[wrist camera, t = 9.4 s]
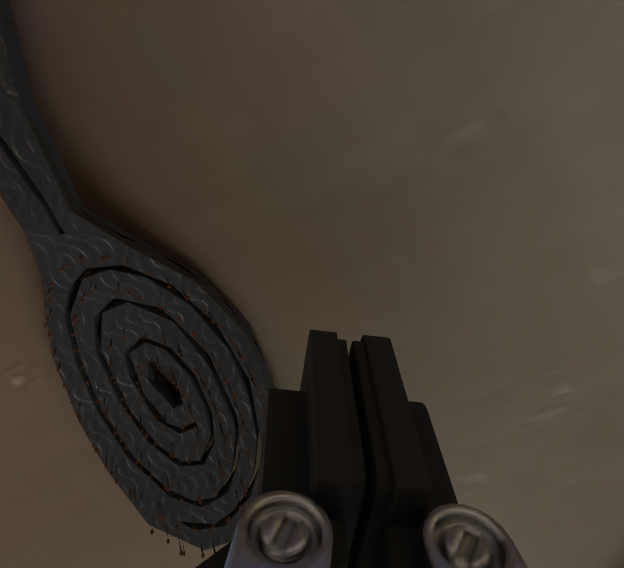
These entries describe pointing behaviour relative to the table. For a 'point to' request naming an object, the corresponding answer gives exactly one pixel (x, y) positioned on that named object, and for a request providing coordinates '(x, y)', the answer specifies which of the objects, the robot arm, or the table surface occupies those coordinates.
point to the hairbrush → (135, 338)
